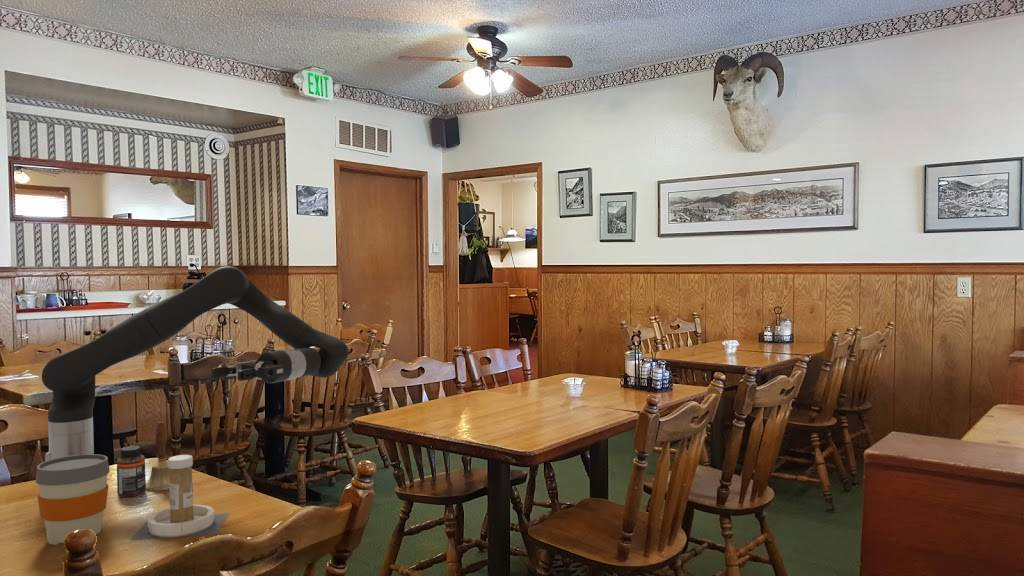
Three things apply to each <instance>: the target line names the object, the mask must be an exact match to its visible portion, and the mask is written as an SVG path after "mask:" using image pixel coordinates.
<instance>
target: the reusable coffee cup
mask: <svg viewBox="0 0 1024 576" xmlns="http://www.w3.org/2000/svg"><path fill="white" fill-rule="evenodd" d="M110 472H111V471H110V464H109V457H108V456H106V455H104V454H98V453H97V454H96V453H95V454H84V455H73V456H66V457H61V458H56V459H52V460H48V461H45V460H44V461H43V462H41V463H39V464H38V465H36V472H35V483H36V484H37V487H38V494H37V497H36V498H37V501H38V508H39V513H40V518H41V519H42V520H43V521H44V528H45V532H46V539H47V542H48V544H49V545H53V546H57V545H58V544H59V543H60V544H61V543H65V542H64V538H65V536H66V535H67V534H68V533H70V532H72V531H75V530H78V529H91V530H93V531H94V532H95V533H96V535H97V534H99V533H100V532H101V530H102V524H103V516H104V511H105V509H106V508H107V504H108V503H107V501H108V500H107V499H108V496H109V495H108V494H109V484H108V474H109V473H110Z"/></svg>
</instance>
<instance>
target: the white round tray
mask: <svg viewBox="0 0 1024 576" xmlns="http://www.w3.org/2000/svg"><path fill="white" fill-rule="evenodd" d="M214 514H215V509H214V508H213V507H212V506H210V505H205V504H197V503H196V504H193V516H194V520H191V521H187V522H182V523H170V520H171V511H170V507H169V508H164V509H161V510H159V511H157V512H154V513H152V514H151V515H150V516H149V517H148V518H147V521H146V522H147V523H148V528H149V533H150V534H151V535H153V536H157V537H170V538H180V537H179V536H184V537H186V536H185V535H190V534H194V533H197V532H200V531H203V530H205V529H207V528H209V527H210V526H211V525H212V524H213V522H214V518H215V516H214Z"/></svg>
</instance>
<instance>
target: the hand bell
mask: <svg viewBox="0 0 1024 576" xmlns="http://www.w3.org/2000/svg"><path fill="white" fill-rule="evenodd" d="M155 441H156V444H157V449H158V450H157V453H158V454H157V455H158V456H157V458H158V459H157V462H156V463H154V464H153V465H152V466H151V472H150V476H149V479H148V480H147V482H146V491H147V492H162V490H164V491H168V490H167V489H169V482H170V480H169V479H170V478H169V468H168V460H167V458H166V457H167V456H166V445H167V444H166V443H167V441H168V430H167V427H166V425H165V422H164V421H158V423H157V427H156V429H155Z"/></svg>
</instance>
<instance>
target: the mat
mask: <svg viewBox="0 0 1024 576" xmlns="http://www.w3.org/2000/svg"><path fill="white" fill-rule="evenodd" d="M214 516H215V518H214V522H213V524H212V525H211V526H210V527H209V528H207V529H205V530H203V531H200V532H197V533H194V534H190V535H185V536H179V537H178V538H180V537H181V538H183V537H195V536H211V535H217V534H218V532H219V531H220V529H221V528H222V526H223V525H224V523H225V522H226V519H227V518H228V516H230V513H214ZM167 538H171V537H157V536H153V535H151V534H150V533H149V528H148V523H147V521H146V522H145V523H144V524H143V525H142V526H141V527H140V528H139V529H138V530H137V531H136V532H135V534H133V535H132V537H131V538H129V541H139V540H154V539H167Z"/></svg>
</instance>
